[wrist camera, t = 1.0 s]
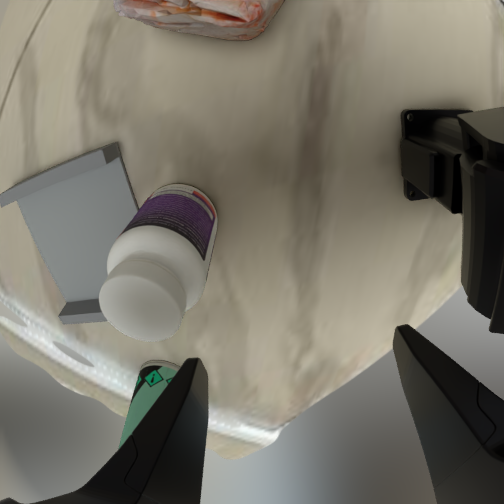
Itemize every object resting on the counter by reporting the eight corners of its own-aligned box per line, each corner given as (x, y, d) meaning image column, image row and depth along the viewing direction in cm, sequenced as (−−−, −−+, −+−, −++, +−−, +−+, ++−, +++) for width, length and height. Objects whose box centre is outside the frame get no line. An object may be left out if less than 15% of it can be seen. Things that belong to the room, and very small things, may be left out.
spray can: (200, 382, 31) (180, 560, 14) (165, 393, 32) (137, 552, 15) (165, 354, 29) (125, 550, 11) (131, 368, 30) (86, 537, 13)
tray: (116, 141, 18) (102, 149, 16) (172, 296, 25) (166, 315, 23) (13, 185, 19) (-3, 196, 17) (72, 308, 26) (63, 324, 24)
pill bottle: (137, 186, 20) (68, 263, 12) (213, 178, 20) (184, 256, 11) (153, 254, 23) (108, 350, 14) (222, 249, 22) (207, 353, 14)
